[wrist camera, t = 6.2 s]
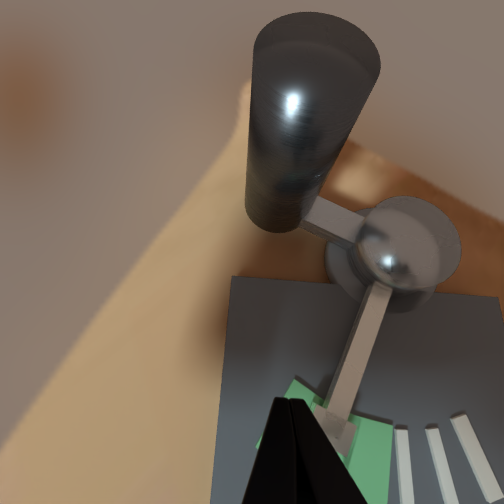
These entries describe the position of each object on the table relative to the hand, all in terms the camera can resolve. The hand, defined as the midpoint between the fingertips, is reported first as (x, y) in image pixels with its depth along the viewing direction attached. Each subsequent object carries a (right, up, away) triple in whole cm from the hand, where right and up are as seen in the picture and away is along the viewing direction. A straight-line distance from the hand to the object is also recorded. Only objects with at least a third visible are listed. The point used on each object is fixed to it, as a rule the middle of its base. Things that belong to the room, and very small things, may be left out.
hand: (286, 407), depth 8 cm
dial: (+2, +3, +7) cm, 7 cm away
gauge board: (+5, -1, +7) cm, 8 cm away
